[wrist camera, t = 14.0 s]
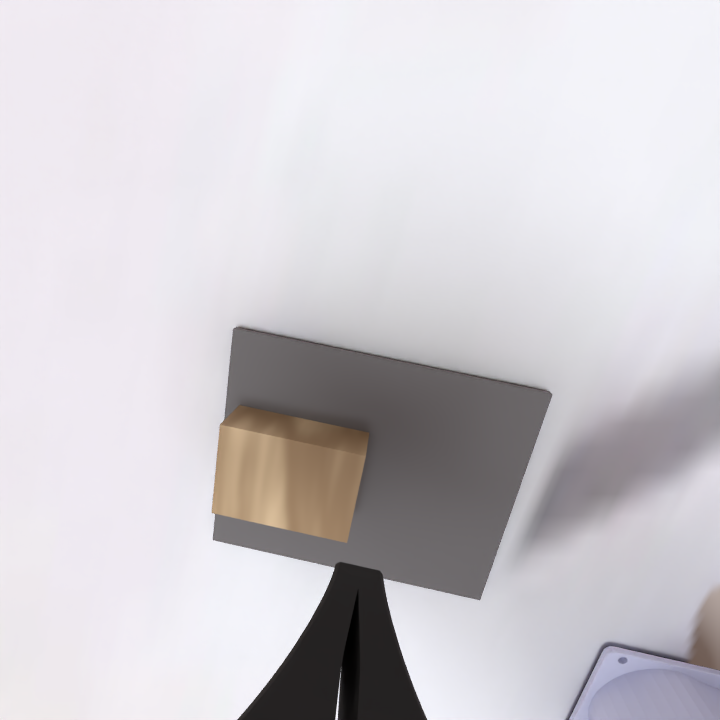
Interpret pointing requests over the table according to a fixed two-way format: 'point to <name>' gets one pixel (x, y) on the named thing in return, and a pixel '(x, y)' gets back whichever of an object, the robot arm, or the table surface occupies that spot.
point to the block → (288, 472)
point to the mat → (397, 457)
